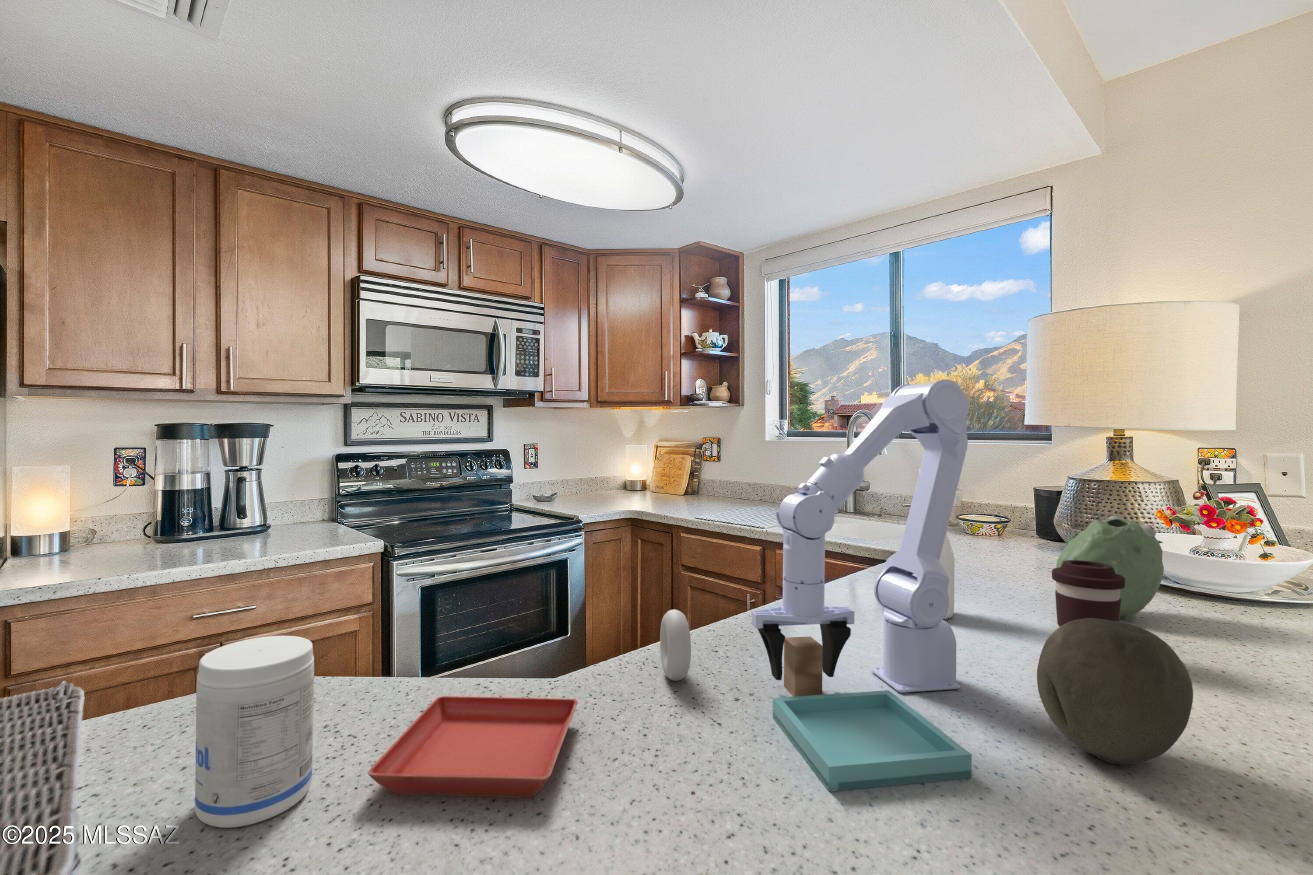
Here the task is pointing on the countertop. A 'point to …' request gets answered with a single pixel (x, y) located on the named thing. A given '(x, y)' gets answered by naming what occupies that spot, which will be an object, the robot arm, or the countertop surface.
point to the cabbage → (1122, 557)
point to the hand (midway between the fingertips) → (802, 675)
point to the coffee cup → (1087, 591)
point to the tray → (869, 740)
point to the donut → (675, 645)
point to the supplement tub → (253, 729)
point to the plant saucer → (477, 747)
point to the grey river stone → (1114, 689)
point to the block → (803, 666)
